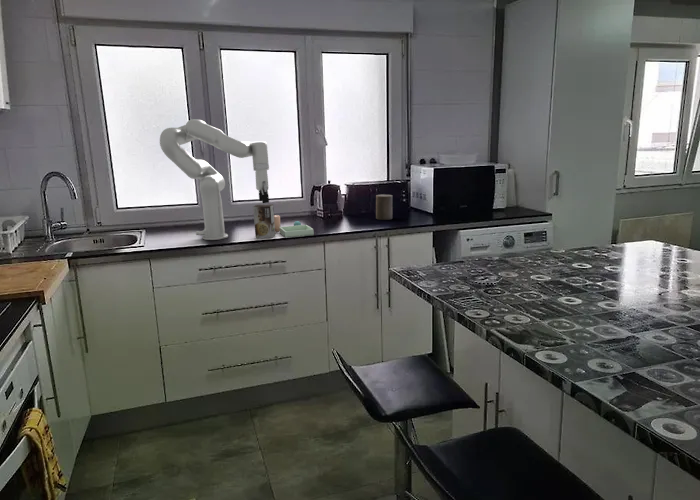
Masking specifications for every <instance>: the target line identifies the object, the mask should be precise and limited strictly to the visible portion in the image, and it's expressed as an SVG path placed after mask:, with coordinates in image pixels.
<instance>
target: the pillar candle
mask: <svg viewBox="0 0 700 500" xmlns="http://www.w3.org/2000/svg"><path fill="white" fill-rule="evenodd" d="M375 219H377V220H381V221H386V220H387V221H388V220H389V221H390V220H392V219H393V195H392V194H376V195H375Z"/></svg>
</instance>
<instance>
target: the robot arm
mask: <svg viewBox="0 0 700 500" xmlns="http://www.w3.org/2000/svg"><path fill="white" fill-rule="evenodd" d="M195 140H199V141H201V142H204V143H205V144H208V145H210V146H213V147H214V148H216V149H218V150H221V151H222V152H225V153H227V154H228V155H231V156H234V157H236V158H239V159H241V158H242V159H244V158H248V157H252V167H253V171H254V172H255V189H256V190H257V191H258V200H259V201H260V202H262V204H268V203H270V200H269V199H270V197H269V196H270V195H269V191H268V190H269V176H268V170H270V165H269V153H268V144H267V142H266V141H265V140H261V141H240V140H238V139H235V138H233V137H231V136H229V135H227V134H225V133H224V131H222V130H221V129H219V128H217V127H214V126H212V125H210V124H208V123H206V122H205V121H204V120H202V119H197V118H196V119H195V118H194V119H193V118H191V119H190V120H187V122H186V123H185V124H184V125H181V126H179V127H167V128H165V129H163V131H161V133H160V135H159V146H160V149H161V151H162V153H164V155H165V156H166V157H167V158H168V159H169V160H170V161H171V162H172V163H174V165H176V167H178V168H179V170H180V171H182V172H183V173H184V174H185V175H186V176H187V177H188V178H189V179H193V180H197V179H198V180H199V193H200V195H201V196H200V197H201V204H202V210H203V213H202V214H203V223H204V228H203V230H200V231H199V230H197V231H195V235H196V236H202V239H203V240H205V241H216V240H217V241H218V240H223V239H227V238H229V234H228V233H226V232H225V231H226V230H225V221H224V220H225V219H224V209H223V200H222V196H221V195H222V194H221V191H223V190H224V189H225V187H226V181H225V178H224V177H223V175H222V174H220V173H219V172H218V171H217V170H216V169H215V168H214V167H213V166H212V165H211V164H209V162H207V161H206V160H204V159H201V158H195V157H193V156H192V155H191V154H190V153H189V152H188V151H187V150H186V149H185V148H183V147H182V146H181V145H184V144H188V143H190V142H193V141H195Z"/></svg>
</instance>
